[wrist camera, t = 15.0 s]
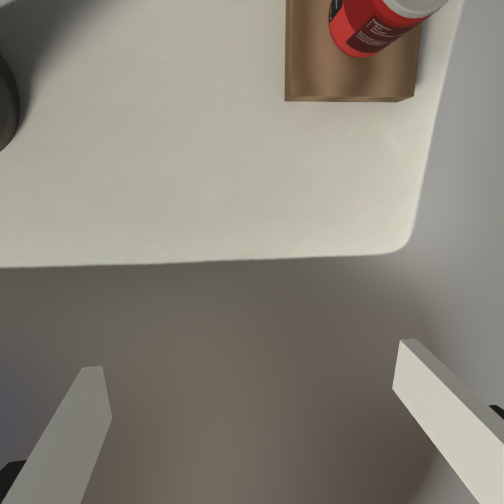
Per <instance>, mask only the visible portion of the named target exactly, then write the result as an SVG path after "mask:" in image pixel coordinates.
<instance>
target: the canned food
mask: <svg viewBox="0 0 504 504" xmlns="http://www.w3.org/2000/svg"><path fill="white" fill-rule="evenodd" d="M447 1H448V0H331V3H330V7H329V16H328V23H329V30H330V34H331V36H332V39H333V41H334V43H335V44H336V46H337V47H338V48H339V49H340V50H341V51H342V52H343V53H345V54H346V55H349V56H351V57H356V58H365V57H370V56H373V55H375V54H377V53H378V52H380V51H381V50H383V49H384V48H385V47H387V46H388V45H390V44H391V43H393V42H394V41H395V40H397V39H398V38H400V37H401V36H403V35H404V34H405V33H407V32H408V31H410V30H411V29H412V28H414V27H415V26H417V25H418V24H420V23H421V22H422V21H424V20H425V19H427V18H428V17H429V16H431V15H432V14H433V13H435V12H436V11H437V10H439V9H440V8H441V7H442V6H443V5H444V4H445V3H446V2H447Z"/></svg>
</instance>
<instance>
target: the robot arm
mask: <svg viewBox="0 0 504 504" xmlns="http://www.w3.org/2000/svg"><path fill="white" fill-rule="evenodd" d="M19 111H20V104H19V95H18V90H17V86H16V83H15V80H14V78H13V75H12V73H11V71H10V69H9V67H8V66H7V64H6V62H5V61H4V59H3V58H2V56H1V55H0V151H1V150H2V149H3V148H4V147H5V146H6V145H7V144H8V142H9V141H10V139H11V138H12V136H13V134H14V132H15V130H16V127H17V124H18V120H19ZM392 389H393V390H394V391H395V392H396V394H397V395H398V397H399V398H400V399H401V401H402V402H403V403H404V405H405V406H406V407H407V408H408V410H409V411H410V412H411V414H412V415H413V416H414V418H415V419H416V420H417V422H418V423H419V424H420V425H421V427H422V428H423V430H424V431H425V432H426V434H427V435H428V436H429V437H430V439H431V440H432V441H433V443H434V444H435V445H436V447H437V448H438V449H439V450H440V452H441V453H442V455H443V456H444V457H445V459H446V460H447V461H448V462H449V464H450V465H451V467H452V468H453V469H454V470H455V472H456V473H457V474H458V476H459V477H460V478H461V480H462V481H463V482H464V484H465V485H466V486H467V488H468V489H469V490H470V492H471V493H472V494H473V495H474V497H475V498H476V499H477V501H478V502H479V503H480V504H504V410H503V409H502V408H500V407H498V406H497V405H490V406H488V405H487V404H486V403H485V402H484V401H483V400H482V399H481V398H479V397H478V396H477V395H476V394H475V393H474V392H473V391H472V390H471V389H470V388H469V387H468V386H466V385H465V384H464V383H463V382H462V381H461V380H460V379H459V378H458V377H457V376H456V375H454V374H453V373H452V372H451V371H450V370H449V369H448V368H447V367H446V366H445V365H444V364H443V363H441V362H440V361H439V360H438V359H437V358H436V357H435V356H434V355H433V354H432V353H431V352H430V351H429V350H427V349H426V348H425V347H424V346H423V345H422V344H421V343H420V342H419V341H418V340H417V339H405V340H400V344H399V351H398V357H397V363H396V370H395V376H394V382H393V388H392ZM111 419H112V415H111V410H110V405H109V400H108V395H107V390H106V384H105V380H104V374H103V369H102V366H94V367H83V368H82V369H81V371H80V372H79V374H78V376H77V378H76V379H75V381H74V383H73V384H72V386H71V387H70V389H69V391H68V392H67V394H66V396H65V397H64V399H63V401H62V402H61V404H60V406H59V407H58V409H57V411H56V413H55V414H54V416H53V418H52V419H51V421H50V423H49V424H48V426H47V428H46V429H45V431H44V433H43V434H42V436H41V438H40V439H39V441H38V443H37V444H36V446H35V448H34V449H33V451H32V453H31V455H30V456H29V458H28V459H27V460H24V461H15V462H9V463H8V464H7V465H6V466H5V467H4V468H3V469H2V470H1V471H0V504H80V503H81V500H82V497H83V495H84V492H85V489H86V487H87V484H88V481H89V479H90V476H91V473H92V470H93V468H94V465H95V462H96V460H97V457H98V454H99V451H100V449H101V446H102V444H103V441H104V438H105V436H106V433H107V430H108V428H109V425H110V422H111Z"/></svg>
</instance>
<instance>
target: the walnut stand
mask: <svg viewBox="0 0 504 504" xmlns="http://www.w3.org/2000/svg"><path fill="white" fill-rule="evenodd" d="M330 3H331V0H286V33H285V101H315V102H399V101H402V100H405V99H408V98H410V97H413V96H414V90H415V81H416V72H417V63H418V54H419V45H420V36H421V27H422V22H421V23H420V24H418V25H417V26H415V27H414V28H412V29H411V30H410V31H408V32H407V33H405V34H404V35H403V36H401V37H400V38H398V39H397V40H395V41H394V42H393V43H391V44H390V45H388V46H387V47H385V48H384V49H383V50H381V51H380V52H378V53H377V54H375V55H373V56H370V57H365V58H356V57H351V56H349V55H346V54H345V53H343V52H342V51H341V50H340V49H339V48H338V47H337V46H336V44H335V43H334V41H333V39H332V36H331V34H330V30H329V23H328V16H329V7H330Z"/></svg>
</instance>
